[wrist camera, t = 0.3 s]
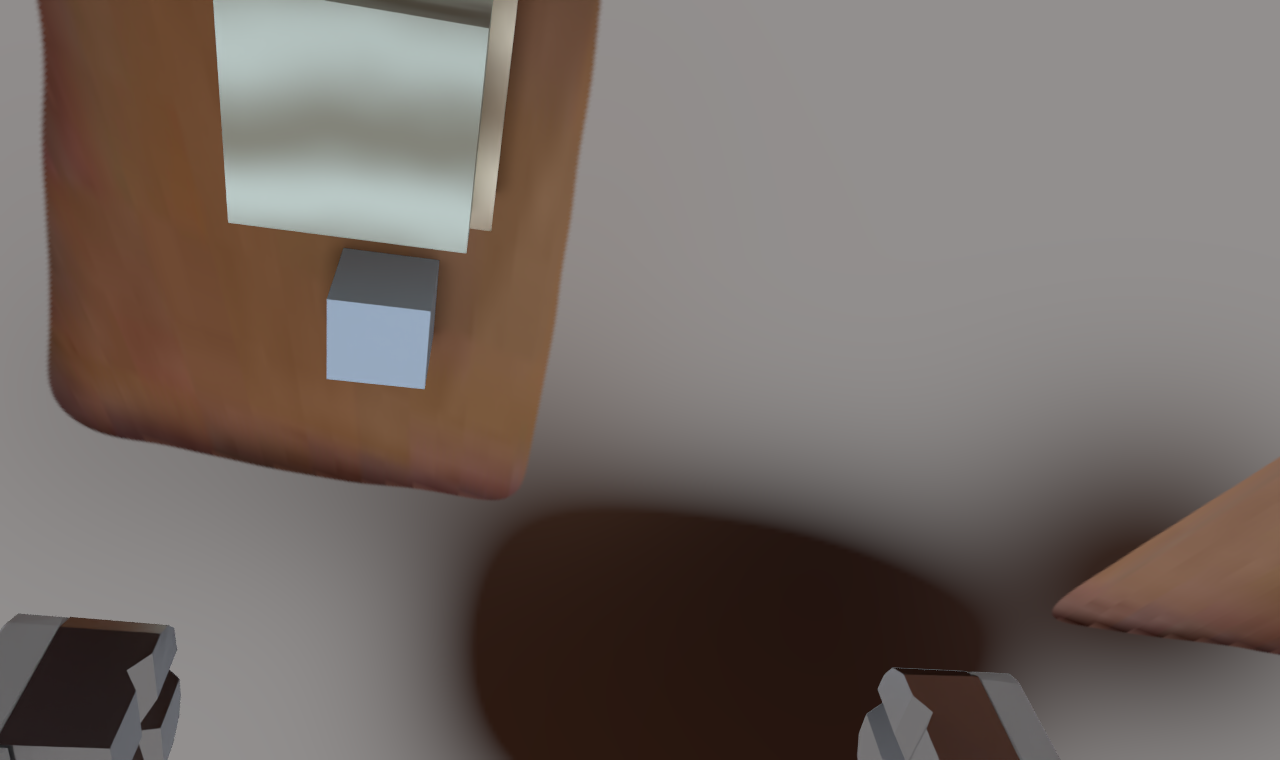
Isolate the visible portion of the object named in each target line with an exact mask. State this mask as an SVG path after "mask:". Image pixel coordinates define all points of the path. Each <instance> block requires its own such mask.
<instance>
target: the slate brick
mask: <svg viewBox="0 0 1280 760" xmlns="http://www.w3.org/2000/svg"><path fill="white" fill-rule="evenodd" d="M438 270H439V260H433V259H425V258H418V257H410V256H402V255H394V254H386V253H378V252H371V251H363V250H355V249H347V248H343V251H342V254H341V257H340V260H339V264H338V267H337V270H336V273H335V276H334V279H333V282H332V285H331V288H330V291H329V294H328V297H327V379H332V380H342V381H351V382H361V383H371V384H380V385H390V386H400V387H409V388H419V389H425V384H426V377H427V371H428V365H429V358H430V352H431V346H432V340H433V332H434V319H435V307H436V295H437V283H438Z"/></svg>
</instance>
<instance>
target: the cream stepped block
mask: <svg viewBox="0 0 1280 760" xmlns="http://www.w3.org/2000/svg"><path fill="white" fill-rule="evenodd" d="M517 4H518V0H213V5H214V20H215V34H216V49H217V64H218V78H219V93H220V108H221V122H222V137H223V152H224V166H225V181H226V196H227V211H228V223H236V224H243V225H251V226H259V227H267V228H274V229H282V230H290V231H298V232H305V233H313V234H321V235H328V236H336V237H344V238H352V239H359V240H367V241H375V242H383V243H390V244H398V245H406V246H413V247H421V248H429V249H437V250H444V251H452V252H460V253H466V252H467V244H468V236H469V229H470V228H471V229H479V230H486V231H491V227H492V218H493V209H494V201H495V192H496V184H497V175H498V167H499V158H500V149H501V141H502V132H503V124H504V115H505V107H506V98H507V89H508V81H509V72H510V64H511V55H512V47H513V38H514V30H515V21H516V12H517Z"/></svg>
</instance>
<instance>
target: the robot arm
mask: <svg viewBox="0 0 1280 760" xmlns="http://www.w3.org/2000/svg"><path fill="white" fill-rule="evenodd" d="M176 651H177V646H176V638H175V630H174V628H173V627H171V626H169V625H159V624H147V623H135V622H123V621H111V620H99V619H86V618H75V617H70V618H67V617H53V616H41V615H28V614H17V615H16V616H14V618H12V619H11V620H10V621H8V622H7V623H6V624H5V625H4V626H3V627H2V629H1V630H0V760H167V759H168V756H169V753H170V751H171V748H172V745H173V741H174V737H175V733H176V728H177V723H178V719H179V711H180V697H181V693H180V679H179V678H178V677H177V676H176V675H175V674H174V673H173V672H171V671H170V670H169V669H170V666H171V664H172V661H173V659H174V656H175V654H176ZM878 691H879V694H880V696H881V699H882V702H883V703H882V704H880V705H879V706H878V707H876V708H875V709H873V710H872V711H870V712H869V713H867V714H866V717H865V719H864V722H863V724H862V727H861V730H860V733H859V742H858V760H1060V758H1059V756H1058V754H1057V753H1056V750H1055V748H1054V747H1053V745H1052V743H1051V741H1050V739H1049V737H1048V736H1047V734H1046V732H1045V730H1044V728H1043V726H1042V724H1041V723H1040V721H1039V719H1038V717H1037V715H1036V713H1035V712H1034V710H1033V708H1032V706H1031V704H1030V702H1029V701H1028V699H1027V697H1026V695H1025V693H1024V691H1023V689H1022V688H1021V686H1020V684H1019V683H1018V681H1017V680H1016V679H1015V678H1013V677H1012V676H1011V675H1010V674H1004V673H985V672H966V671H952V670H931V669H930V670H929V669H909V668H892V669H891V670H889V671H888V672H887V673H886V674H885V675H884V677H883V679H882V681H881V683H880V685H879V687H878Z"/></svg>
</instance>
